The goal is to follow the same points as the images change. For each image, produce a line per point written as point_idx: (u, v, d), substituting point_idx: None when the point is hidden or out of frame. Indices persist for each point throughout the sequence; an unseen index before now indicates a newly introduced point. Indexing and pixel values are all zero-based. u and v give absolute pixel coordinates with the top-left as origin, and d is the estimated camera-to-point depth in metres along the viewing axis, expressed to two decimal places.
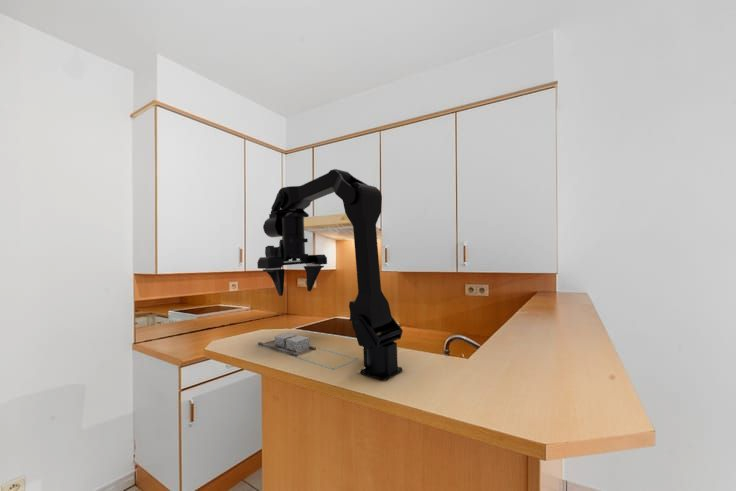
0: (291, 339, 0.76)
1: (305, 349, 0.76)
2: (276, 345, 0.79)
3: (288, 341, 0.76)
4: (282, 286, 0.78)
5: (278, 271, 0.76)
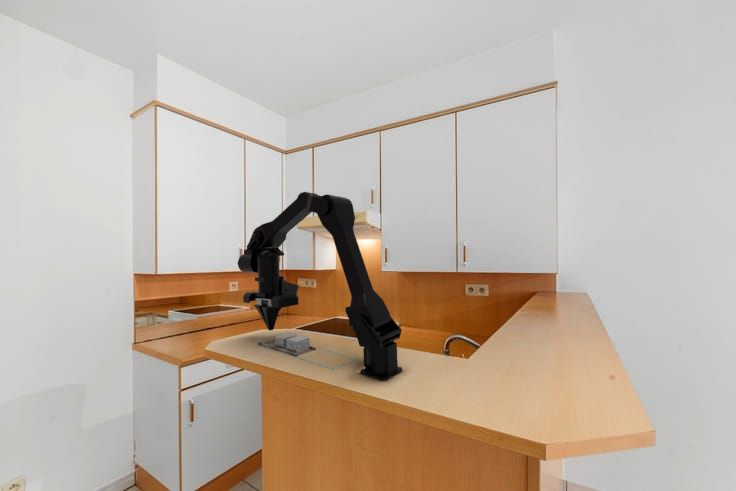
0: (291, 339, 0.76)
1: (305, 349, 0.76)
2: (276, 345, 0.79)
3: (288, 341, 0.76)
4: (264, 321, 0.84)
5: None
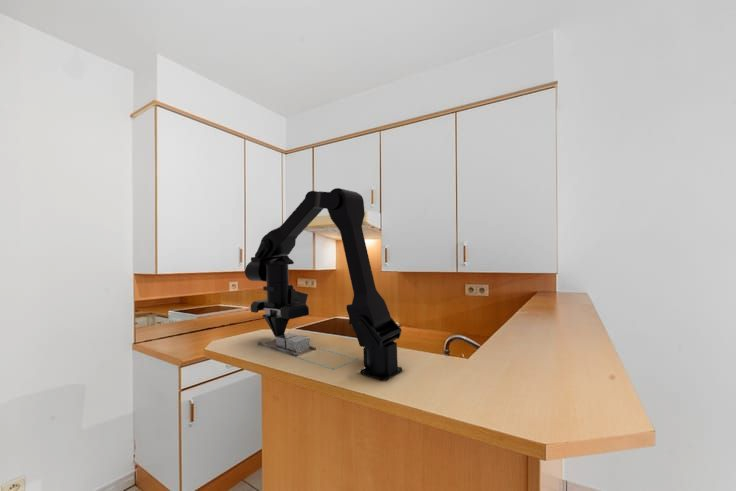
0: (291, 339, 0.76)
1: (305, 349, 0.76)
2: (277, 345, 0.79)
3: (288, 341, 0.76)
4: (273, 332, 0.81)
5: (264, 317, 0.81)
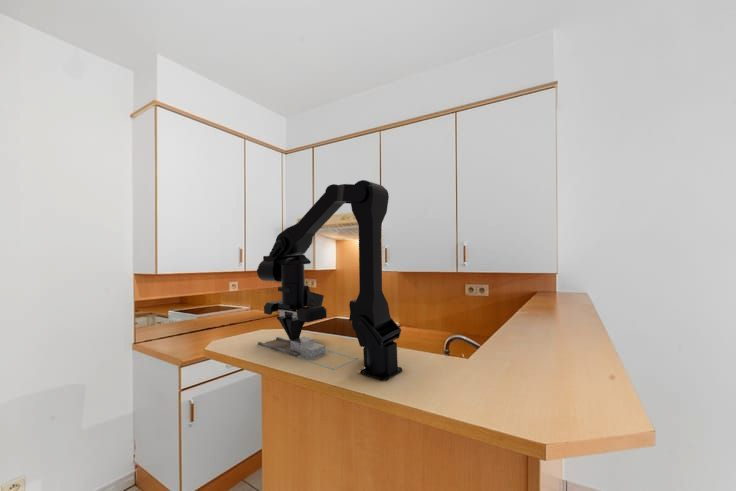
0: (306, 347, 0.72)
1: None
2: (292, 350, 0.75)
3: (302, 349, 0.72)
4: (288, 335, 0.77)
5: (278, 319, 0.77)
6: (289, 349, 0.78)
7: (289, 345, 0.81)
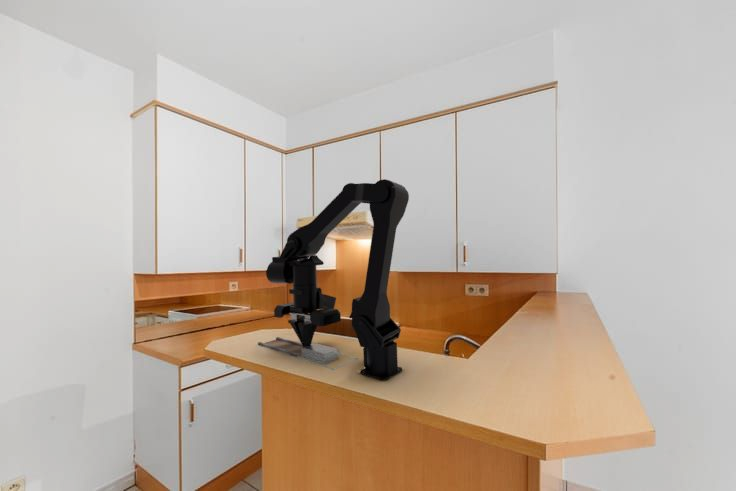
0: (318, 350, 0.69)
1: None
2: None
3: (315, 352, 0.69)
4: (300, 339, 0.73)
5: (290, 323, 0.74)
6: (289, 349, 0.78)
7: (289, 345, 0.81)
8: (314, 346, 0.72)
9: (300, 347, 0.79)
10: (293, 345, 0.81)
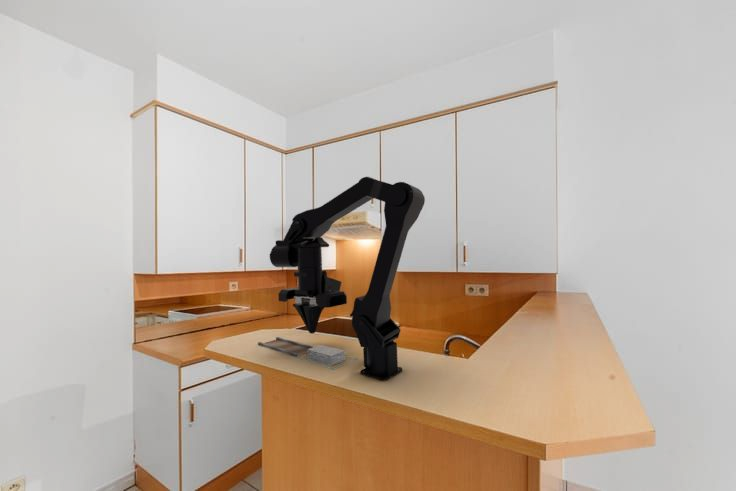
0: (325, 352, 0.68)
1: None
2: None
3: (321, 354, 0.67)
4: (305, 323, 0.72)
5: (294, 306, 0.72)
6: (289, 349, 0.78)
7: (289, 345, 0.81)
8: (320, 348, 0.71)
9: (300, 347, 0.79)
10: (293, 345, 0.81)
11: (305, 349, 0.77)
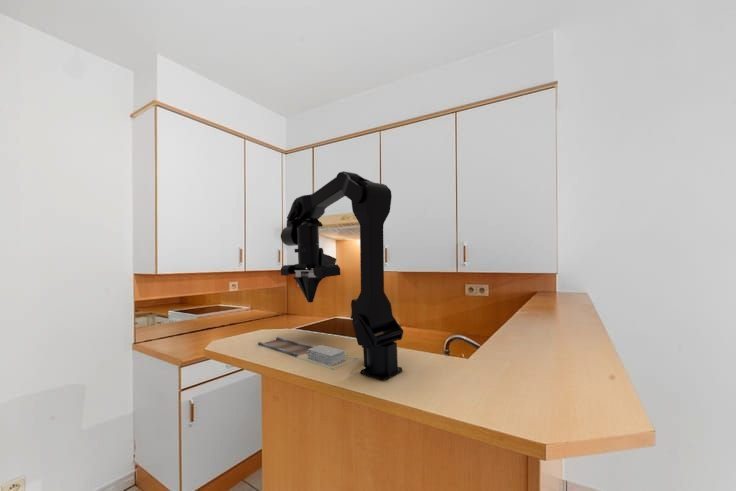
0: (325, 352, 0.68)
1: None
2: None
3: (321, 354, 0.67)
4: (304, 293, 0.82)
5: (295, 279, 0.83)
6: (289, 349, 0.78)
7: (289, 345, 0.81)
8: (320, 348, 0.71)
9: (300, 347, 0.79)
10: (293, 345, 0.81)
11: (305, 349, 0.77)
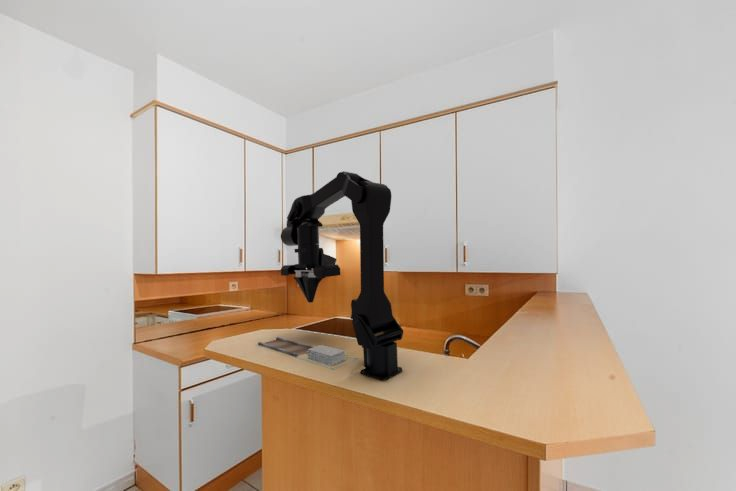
0: (325, 352, 0.68)
1: None
2: None
3: (321, 354, 0.67)
4: (304, 293, 0.82)
5: (295, 279, 0.83)
6: (289, 349, 0.78)
7: (289, 345, 0.81)
8: (320, 348, 0.71)
9: (300, 347, 0.79)
10: (293, 345, 0.81)
11: (305, 349, 0.77)
